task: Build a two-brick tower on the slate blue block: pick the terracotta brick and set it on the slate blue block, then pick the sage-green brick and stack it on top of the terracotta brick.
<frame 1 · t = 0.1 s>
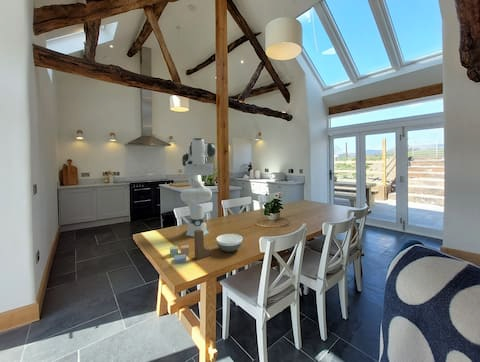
hand: (199, 181, 157), 48 cm above the table, fingers open, 8 cm apart
sage brick: (174, 254, 152), on the table
bowl: (229, 249, 160), on the table
slate blue block: (180, 260, 143), on the table
wooden block: (202, 256, 149), on the table
terracotta brick: (185, 253, 154), on the table
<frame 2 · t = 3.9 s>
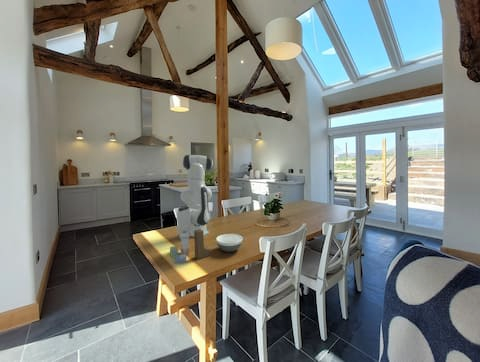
hand: (185, 250, 153), 2 cm above the table, fingers closed on terracotta brick, 5 cm apart
terracotta brick: (185, 253, 154), on the table, touching gripper
everything else where it was.
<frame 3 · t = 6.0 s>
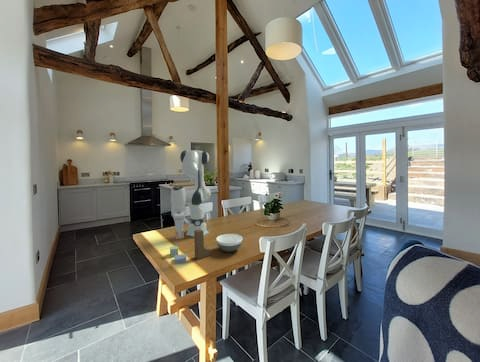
hand: (179, 234, 141), 17 cm above the table, fingers closed on terracotta brick, 5 cm apart
terracotta brick: (179, 237, 142), point 15 cm above the table, touching gripper
everything else where it was.
when the fingers open (5 cm above the table, at t = 8.5 s): terracotta brick stays where it is, resting on slate blue block.
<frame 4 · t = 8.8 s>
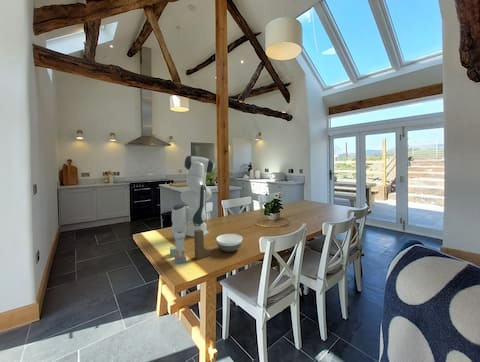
hand: (180, 252, 143), 5 cm above the table, fingers open, 8 cm apart
terracotta brick: (180, 256, 143), point 2 cm above the table, touching slate blue block
everything else where it was.
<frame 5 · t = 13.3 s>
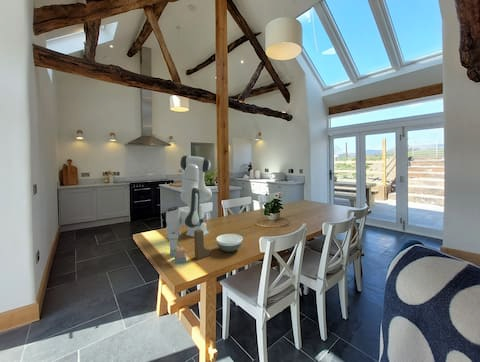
hand: (174, 251, 152), 2 cm above the table, fingers closed on sage brick, 5 cm apart
sage brick: (174, 254, 152), on the table, touching gripper
everything else where it was.
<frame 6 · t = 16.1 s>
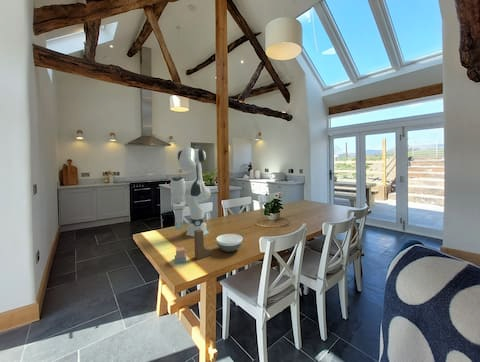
hand: (179, 225, 141), 23 cm above the table, fingers closed on sage brick, 5 cm apart
sage brick: (179, 228, 141), point 21 cm above the table, touching gripper
everything else where it was.
when the fingers open (10 cm above the table, at t = 18.8 s): sage brick stays where it is, resting on terracotta brick.
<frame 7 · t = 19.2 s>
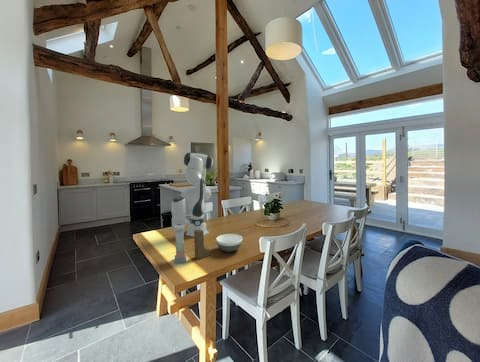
hand: (180, 245, 142), 10 cm above the table, fingers open, 8 cm apart
sage brick: (180, 249, 142), point 7 cm above the table, touching terracotta brick
terracotta brick: (180, 256, 143), point 2 cm above the table, touching slate blue block, sage brick
everything else where it was.
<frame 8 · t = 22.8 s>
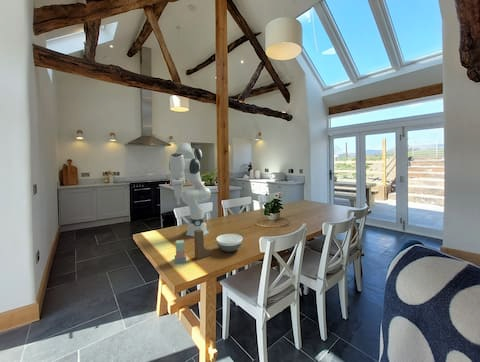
hand: (178, 202, 139), 37 cm above the table, fingers open, 8 cm apart
nothing on the table moved.
at the end: terracotta brick 0.1 cm from the slate blue block (horizontally); sage brick inside the target area on the slate blue block (0.1 cm from its centre), point 7.4 cm above the slate blue block's base; sage brick tilted 0° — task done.
